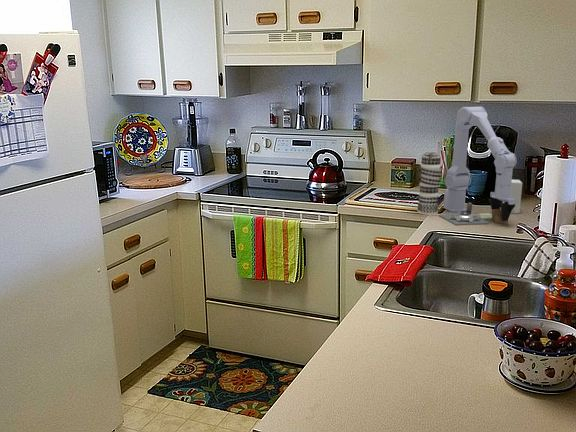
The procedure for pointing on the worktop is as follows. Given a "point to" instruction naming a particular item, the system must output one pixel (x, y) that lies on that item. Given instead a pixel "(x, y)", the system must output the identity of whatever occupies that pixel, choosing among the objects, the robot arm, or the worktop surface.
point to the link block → (497, 216)
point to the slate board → (463, 221)
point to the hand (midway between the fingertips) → (500, 218)
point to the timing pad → (486, 216)
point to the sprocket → (465, 214)
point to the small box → (516, 194)
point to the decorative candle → (429, 183)
